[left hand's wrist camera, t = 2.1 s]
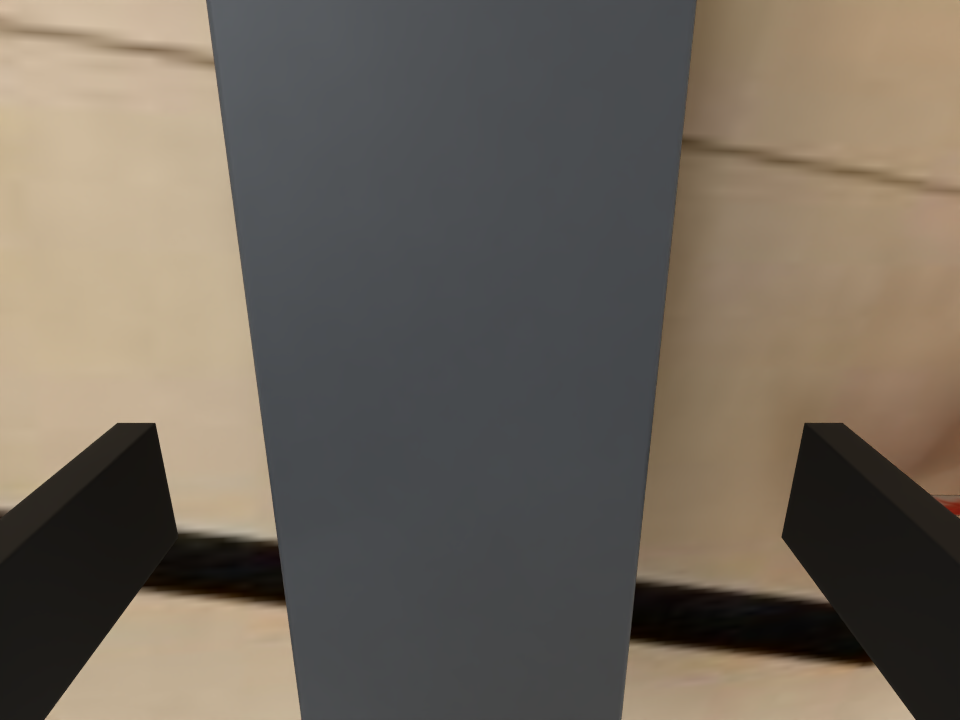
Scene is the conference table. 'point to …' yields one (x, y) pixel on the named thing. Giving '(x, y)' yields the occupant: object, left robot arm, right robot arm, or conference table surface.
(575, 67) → the bar
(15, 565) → the left robot arm
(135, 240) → the conference table surface
